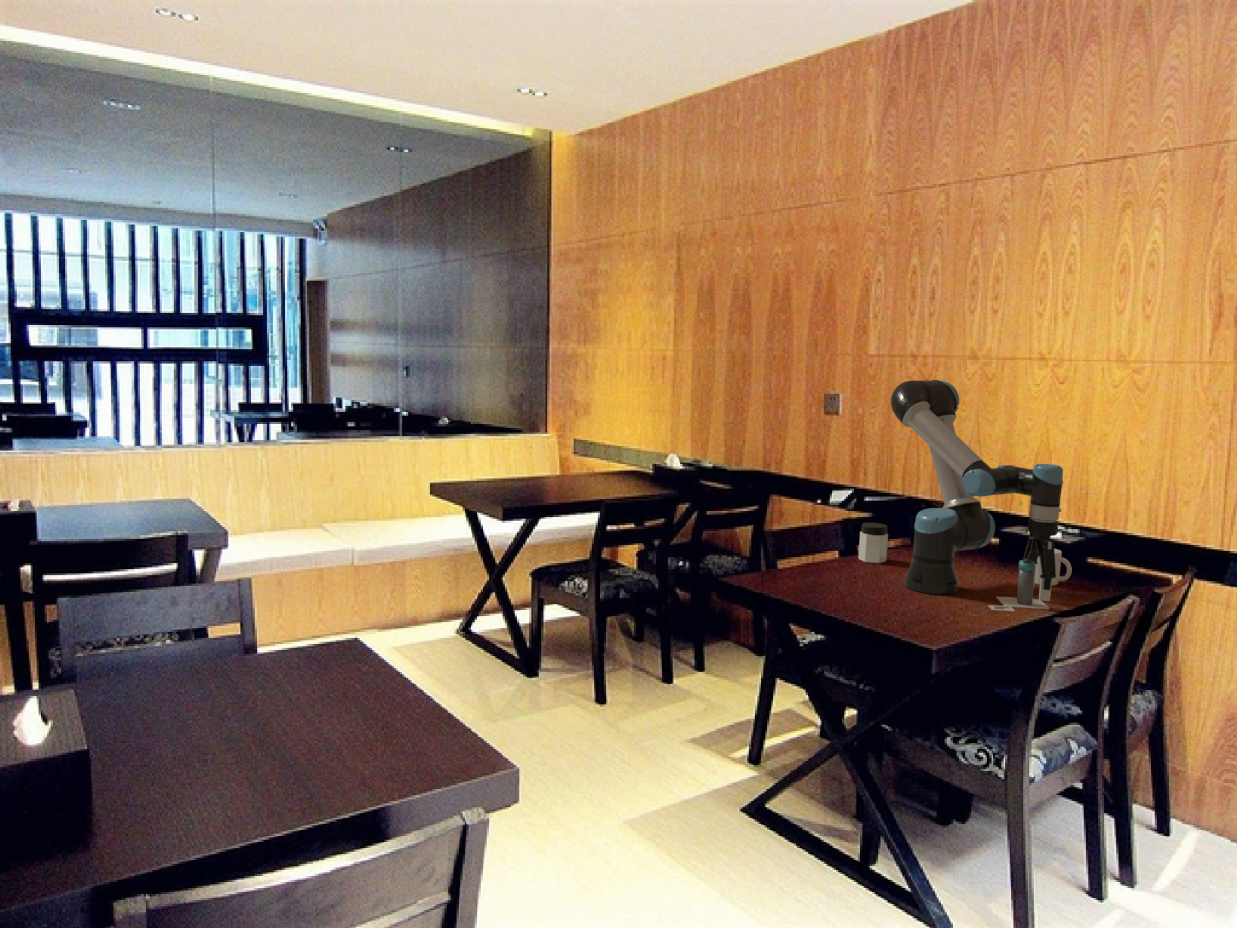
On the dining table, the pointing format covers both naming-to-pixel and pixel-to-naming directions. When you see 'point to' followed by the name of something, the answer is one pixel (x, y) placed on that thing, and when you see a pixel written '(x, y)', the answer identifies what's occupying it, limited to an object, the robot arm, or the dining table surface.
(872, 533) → the jar
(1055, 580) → the mug
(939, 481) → the robot arm
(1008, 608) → the word card
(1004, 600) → the paper
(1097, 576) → the dining table surface
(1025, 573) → the grey teal battery
